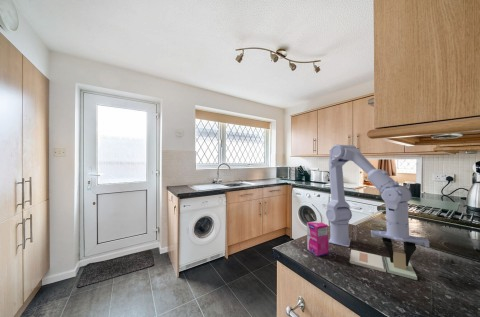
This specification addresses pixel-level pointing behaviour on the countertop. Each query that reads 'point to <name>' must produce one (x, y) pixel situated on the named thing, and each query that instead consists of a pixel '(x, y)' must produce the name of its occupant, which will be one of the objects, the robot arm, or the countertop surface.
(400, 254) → the block on white base
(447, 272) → the countertop surface
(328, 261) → the countertop surface
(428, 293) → the countertop surface
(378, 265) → the board
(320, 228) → the supplement box
